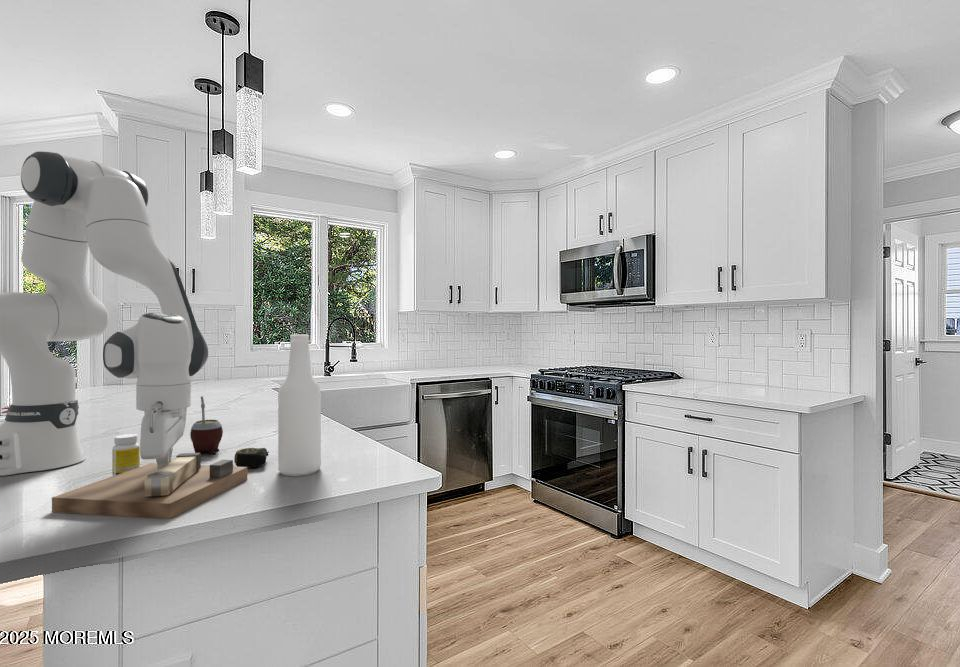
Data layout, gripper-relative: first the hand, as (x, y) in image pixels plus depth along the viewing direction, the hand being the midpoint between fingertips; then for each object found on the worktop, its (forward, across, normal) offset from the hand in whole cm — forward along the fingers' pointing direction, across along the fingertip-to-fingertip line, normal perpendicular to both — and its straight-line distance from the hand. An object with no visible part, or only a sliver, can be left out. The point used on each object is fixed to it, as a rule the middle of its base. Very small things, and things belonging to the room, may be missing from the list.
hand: (164, 470), depth 97 cm
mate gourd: (+5, +30, -4) cm, 31 cm away
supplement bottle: (+5, +16, +10) cm, 19 cm away
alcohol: (+4, +6, -25) cm, 26 cm away
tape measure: (+5, +15, -15) cm, 22 cm away
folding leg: (+1, -3, -2) cm, 4 cm away
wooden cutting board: (+4, -1, +1) cm, 4 cm away
